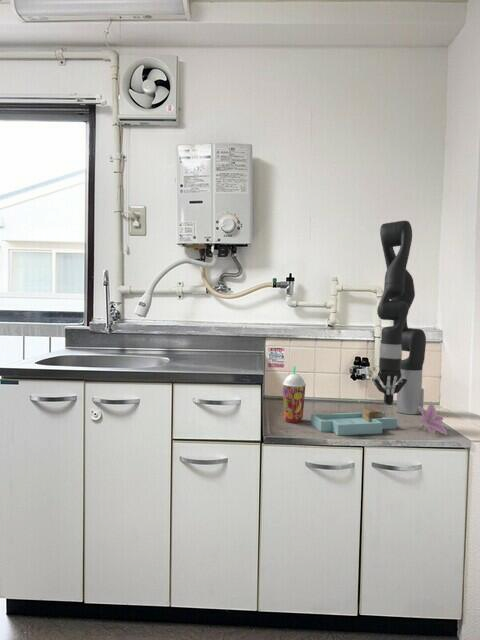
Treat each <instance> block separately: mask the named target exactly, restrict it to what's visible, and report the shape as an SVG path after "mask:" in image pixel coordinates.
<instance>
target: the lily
mask: <svg viewBox="0 0 480 640" xmlns="http://www.w3.org/2000/svg"><path fill="white" fill-rule="evenodd" d="M418 408H419V410H420V412H421V413H420V414H421V416H420V418H419V419H418V420H417V423H418V424H420V425H422V426H421V428H420V429H419V431H422V429H423V427H425V426H426V427H427V429H428V431H429V434H430V437H431V436H432V437H434V435H435V432H436V431H438V432H440V433H441V434H443V435H445V436H447V435H448V433H447V430H446V429H445V426H444V425H443V424H442V421H443V420H444V419H445V418H444V416H442V415H440V414H437V410H436V407H435V405H434V403H433V401H430V402H429V404H428V406H427V408H426V409H425V407H423V408H422V407H420V406H418Z"/></svg>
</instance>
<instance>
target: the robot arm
mask: <svg viewBox="0 0 480 640" xmlns="http://www.w3.org/2000/svg"><path fill="white" fill-rule="evenodd" d="M379 234H380V235H379V236H380V242H381V246H382V251H383V255H384V261H385V265H386V271H385V275H384V284H383V285H384V286H383V287H384V288H383V293H382V296H381V299H380V301H379V304H378V306H377V311H376V312H377V313H376V314H377V316H378V318H379V319H381V320H383V321H393V322H392V323H393V325H392V326H391V325H390V326H385V327H383V328H382V329H381V336H380V337H381V338H380V340H381V341H380V346H379V347H380V348H379V363H378V365H379V366H378V368H379V370H378V373H377V376H376V377H373V378H371V381H372V382H373V384H374V386H375V387H376V389H377V390H378V391H379V392H380V393H382V394H383V402H384V404H385V405H386V406H392V405H393V403H394V395H395V394H396V406H395V407H396V413H397V412H398V413H400V414H405V415H419V414H421V412H420V410H419V408H418V406H420V407H422V408H424V396H425V389H424V388H422V387H423V369H424V368H423V366H424V364H425V357H426V345H427V336H426V332H425V331H424V330H422V329H420V328H411V327H409V326H408V320H407V319H408V314H409V311H410V308H411V307H412V304H413V302H414V299H415V296H416V291H415V283H414V277H413V276H412V274H411V272H409V271H408V269H407V264H408V260H409V256H410V251H411V247H412V241H413V228H412V225H411V223H410V222H409V220H397V221H392V222H387V223H386V222H385V223H382V224H381V226H380V229H379ZM395 247H399V250H398V252H397V254H396V252H395V249H394V248H395ZM403 351H404V352H409V354H408V357H406V358H404V359H402V356H403Z"/></svg>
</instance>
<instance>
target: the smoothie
mask: <svg viewBox="0 0 480 640" xmlns="http://www.w3.org/2000/svg"><path fill="white" fill-rule="evenodd" d="M305 382H306V381H305V380H304V379H303V377H302V376H300V375H299V374H297V373H296V366H295V365H294V366H293V373H291V374H289V375H287V376H286V377H285V378H284V381H283V382H282V401H283V418H284V421H285V422H286V423H292V424H297V423H301V422H302V420H303V419H304V418H303V417H304V409H305V407H304V406H305V398H306V397H305V394H306V385H307V384H306V383H305Z"/></svg>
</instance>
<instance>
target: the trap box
mask: <svg viewBox="0 0 480 640" xmlns="http://www.w3.org/2000/svg"><path fill="white" fill-rule="evenodd" d="M362 414H363V412H342V413H341V412H337V413H336V412H335V413H313V414H310V425H312V427H314V428H315V429H317V430H318V431H319V432H321V433H323V432H333V433H334V434H336V435H337V436H351V435H352V436H353V435H354V436H355V435H373V434H374V435H376V434H378V435H379V434H383V430H391V429H392V430H393V429H397V428H398V418H397V417H386V416H385V415H386V412H385V411H382V418H378V419H372V422H368V421H366V420H364V419H363V418H362Z"/></svg>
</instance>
